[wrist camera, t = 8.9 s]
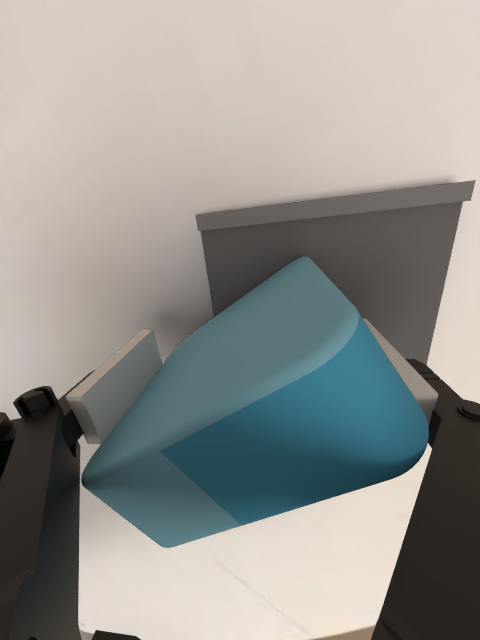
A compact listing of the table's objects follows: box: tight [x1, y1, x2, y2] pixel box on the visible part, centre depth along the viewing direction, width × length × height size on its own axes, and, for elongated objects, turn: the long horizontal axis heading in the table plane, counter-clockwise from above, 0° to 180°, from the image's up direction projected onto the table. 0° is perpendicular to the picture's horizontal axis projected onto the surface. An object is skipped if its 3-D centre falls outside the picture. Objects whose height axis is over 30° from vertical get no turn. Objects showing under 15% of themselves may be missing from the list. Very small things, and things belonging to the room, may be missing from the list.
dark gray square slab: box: [196, 180, 475, 365], centre depth 18 cm, size 16×16×2 cm
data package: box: [82, 257, 429, 548], centre depth 13 cm, size 12×4×12 cm, turn 128°
